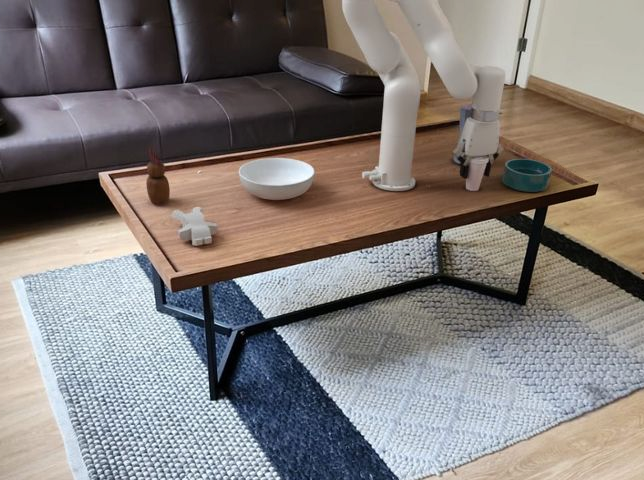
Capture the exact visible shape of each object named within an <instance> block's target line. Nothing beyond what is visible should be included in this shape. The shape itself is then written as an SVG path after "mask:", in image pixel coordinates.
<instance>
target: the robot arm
mask: <svg viewBox="0 0 644 480" xmlns="http://www.w3.org/2000/svg"><path fill="white" fill-rule="evenodd" d="M389 1H390V2H394V3H395V2H396V3H397V5H398V6H399V8H400V10H401V12H402V14H403V15H404V17H405V19H406V20H407V22H408V24H409V25H410V27H411V29H412V31H413V32H414V34H415V36H416V38H417V40H418V42H419V44H420V45H421V47H422V49H423V51H424V53H425V54H426V55H427V56H428V58H429V60H430V61H431V63H432V65H433V67H434V69H435V70H436V72H437V74H438V76H439V78H440V79H441V81H442V83H443V85H444V86H445V88H446V90H447V91H448V92H447V93H449V95H450V97H452V98H453V99H455V100H457V101H467V100H469V99H471V98H472V100H471V104H472V107H471V113H470V118H467V120H466V122H465V125H464V128H463V131H462V135H461V139H460V144H459V146H458V147H457V146H456V147H455V149H454V150H453V151H452V154H453V156H454V155H455V157H456V158H457V159H458V160H459V162H460V163H461V164H460V168H459V177H461V178H462V179H464V180H466V179H467V177H468V170H469V166H468V163H469V161H470V159H471V157H472V156H483V155H487V156H488V157H489V160H488V162H487V164H486V167H485V170H484V174H483V176H484V177H487V178H489V177H490V173H491V170H492V165H493V163H495V160H496V159H497V158H498V157H499V155H500V154H501V153H503V152H504V150H505V149H504V146H503V145H502V144H501V143H500V132H501V131H500V130H501V129H500V128H501V125H500V124H501V123H500V119H499V117H500V115H502V114H503V109H502V108H501V103H502V98H503V91H504V86H505V81H506V72H505V70H504V69H503V68H502V67H498V66H493V65H486V66H481V65H480V66H479V65H475V64H469V62H468V61H467V59H466V58H465V56H464V54H463V52H462V50H461V48H460V46H459V44H458V42H457V39H456V36H455V33H454V31H453V28H452V25H451V23H450V22H449V20H448V18H447V17H446V15H445V12H444V11H443V10H442V8H441V6H440V4H439V2H438V0H389ZM341 6H342V7H341V8H342V12H343V16H344V19H345V21H346V23H347V26H348V27H349V29H350V31H351V33H352V35H353V37H354V39H355V41H356V44H357V45H358V47H359V49H360V50H361V53H362V54H363V56H364V58H365V60H366V63H367V64H368V66H369V67H370V69H371V70H373V71H374V72H376V73H377V75H378V76H379V78H380V81H382V84H383V85H384V90H383V91H384V92H383V105H382V106H383V107H382V120H381V131H380V143H379V144H380V145H379V146H380V147H379V158H378V165H377V166H375V168H374V169H372V170H371V171H362V172H361V177H362V179H369V181H371V183H372V184H373V185H374V187H377V188H378V189H381V190H385V191H388V192H389V191H390V192H404V191H409V190H411V189H414V187H415V186H416V179H415V178H414V177H413V176H412V167H413V160H414V159H413V158H414V151H415V150H414V149H415V141H416V140H415V139H416V129H417V121H418V114H419V107H420V101H421V84H420V79H419V75H418V72H417V71H416V68H415V66H414V64H413V63H412V61H411V59H410V57H409V55H408V54H407V52H406V50H405V48H404V46H403V44H402V42H401V40H400V39H399V37H398V36H397V35H396V34H395V33H394V32H392V31H390V29H389V28H388V26H387V25H386V22H385V20H384V18H383V16H382V14H381V12H380V11H379V8H378V6H377V0H341ZM460 152H464V153H463V155H462V156H461V155H460Z"/></svg>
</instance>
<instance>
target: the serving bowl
mask: <svg viewBox="0 0 644 480" xmlns="http://www.w3.org/2000/svg"><path fill="white" fill-rule="evenodd" d="M315 172H316V171H315V169H314V167H313V166H312V165H310V164H309V163H308V162H306V161H302V160H298V159H294V158H287V157H267V158H259V159H254V160H250V161H248V162H245V163H244V164H242V165H241V166H240V167H239V169H238V176H239V181H240V183H241V185H242V187H243V188H244V189H245V190H246V191H247V192H248V193H249V194H251V195H252V196H255V197H257V198H259V199H264V200H271V201H283V200H290V199H294V198H297V197H299V196H301V195H303V194H304V193H306V192H307V191H308V190H309V189H310V187H311V186H312V184H313V181H314V179H315V174H316V173H315Z"/></svg>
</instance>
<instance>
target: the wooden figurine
mask: <svg viewBox="0 0 644 480" xmlns="http://www.w3.org/2000/svg"><path fill="white" fill-rule="evenodd" d="M149 159H150V160H149V162H148V163H147V165H146V173H147V175H148V177H147V178H146V191H147V196H148V198H149V200H150V202H151V203H152V204H153V205H157V206H158V205H164V204H166V203H168V201H169V199H170V195H171V193H170V192H171V191H170V190H171V189H170V183H169V180H168V178H167V176H166V175H165V173H166V166H165V164H164V163H163V162H162V161H160V159H159V157H158V155H157V154H156V153H155V149H152V147H151V145H150V146H149Z"/></svg>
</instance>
